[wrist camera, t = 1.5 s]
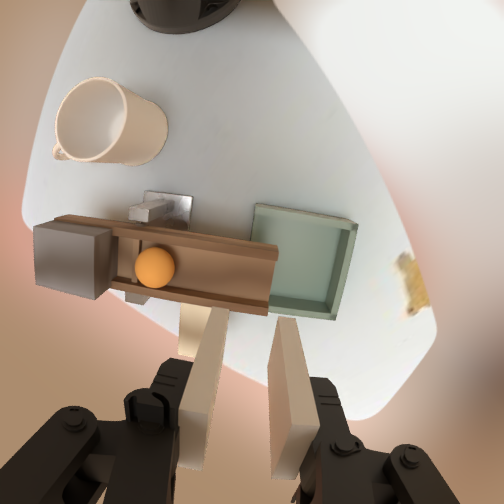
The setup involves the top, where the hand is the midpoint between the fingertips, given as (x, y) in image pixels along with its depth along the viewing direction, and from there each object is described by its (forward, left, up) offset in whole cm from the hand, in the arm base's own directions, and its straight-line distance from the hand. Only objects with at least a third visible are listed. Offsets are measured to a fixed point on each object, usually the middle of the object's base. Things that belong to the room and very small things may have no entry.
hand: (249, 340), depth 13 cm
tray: (+2, +5, -24) cm, 25 cm away
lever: (+5, -9, -16) cm, 19 cm away
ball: (+2, -8, -13) cm, 16 cm away
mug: (-10, -18, -25) cm, 32 cm away
